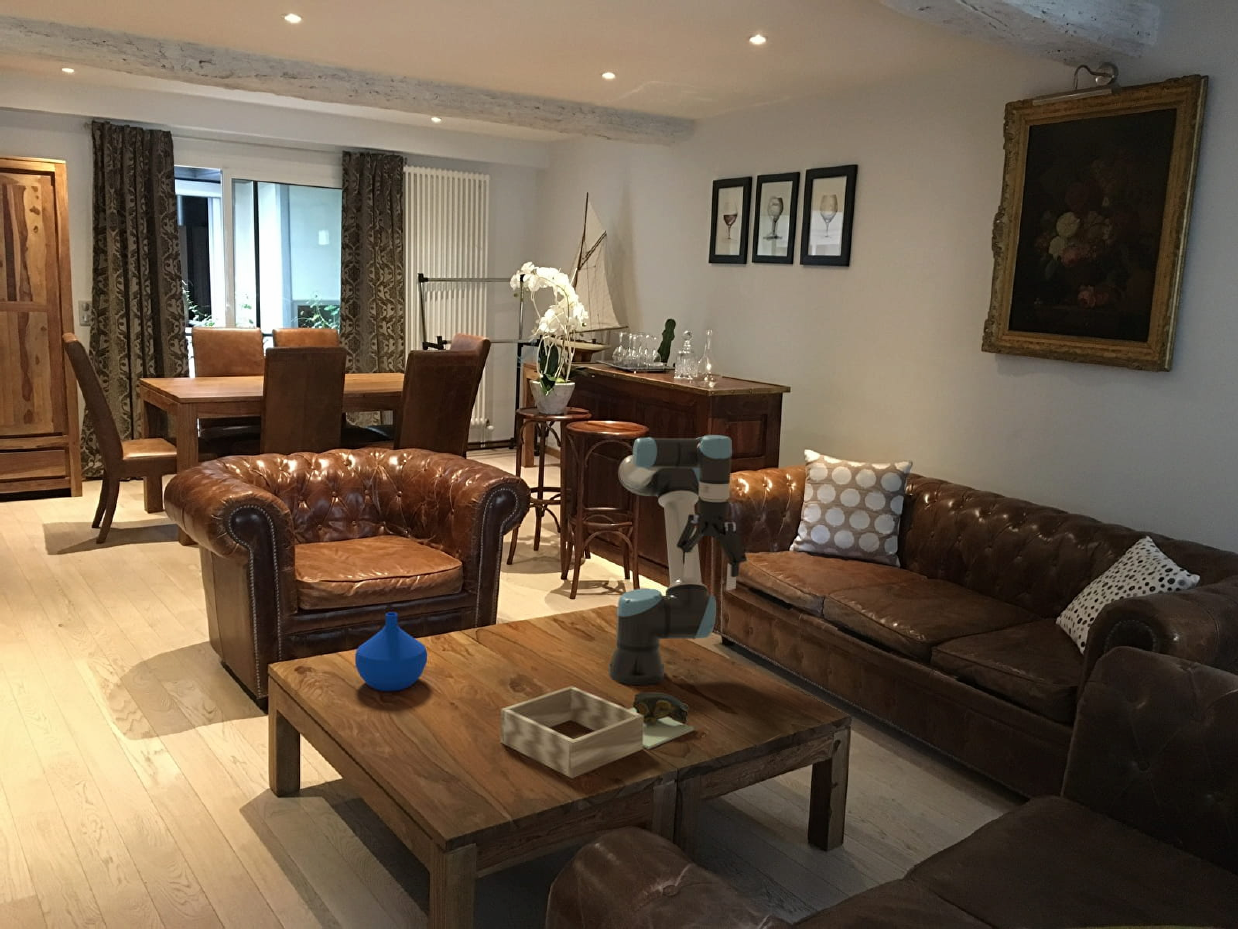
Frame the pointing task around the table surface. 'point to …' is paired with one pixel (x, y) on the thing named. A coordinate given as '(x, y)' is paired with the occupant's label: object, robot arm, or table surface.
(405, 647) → the vase
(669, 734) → the pad
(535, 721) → the frame
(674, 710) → the sculpture
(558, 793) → the table surface
